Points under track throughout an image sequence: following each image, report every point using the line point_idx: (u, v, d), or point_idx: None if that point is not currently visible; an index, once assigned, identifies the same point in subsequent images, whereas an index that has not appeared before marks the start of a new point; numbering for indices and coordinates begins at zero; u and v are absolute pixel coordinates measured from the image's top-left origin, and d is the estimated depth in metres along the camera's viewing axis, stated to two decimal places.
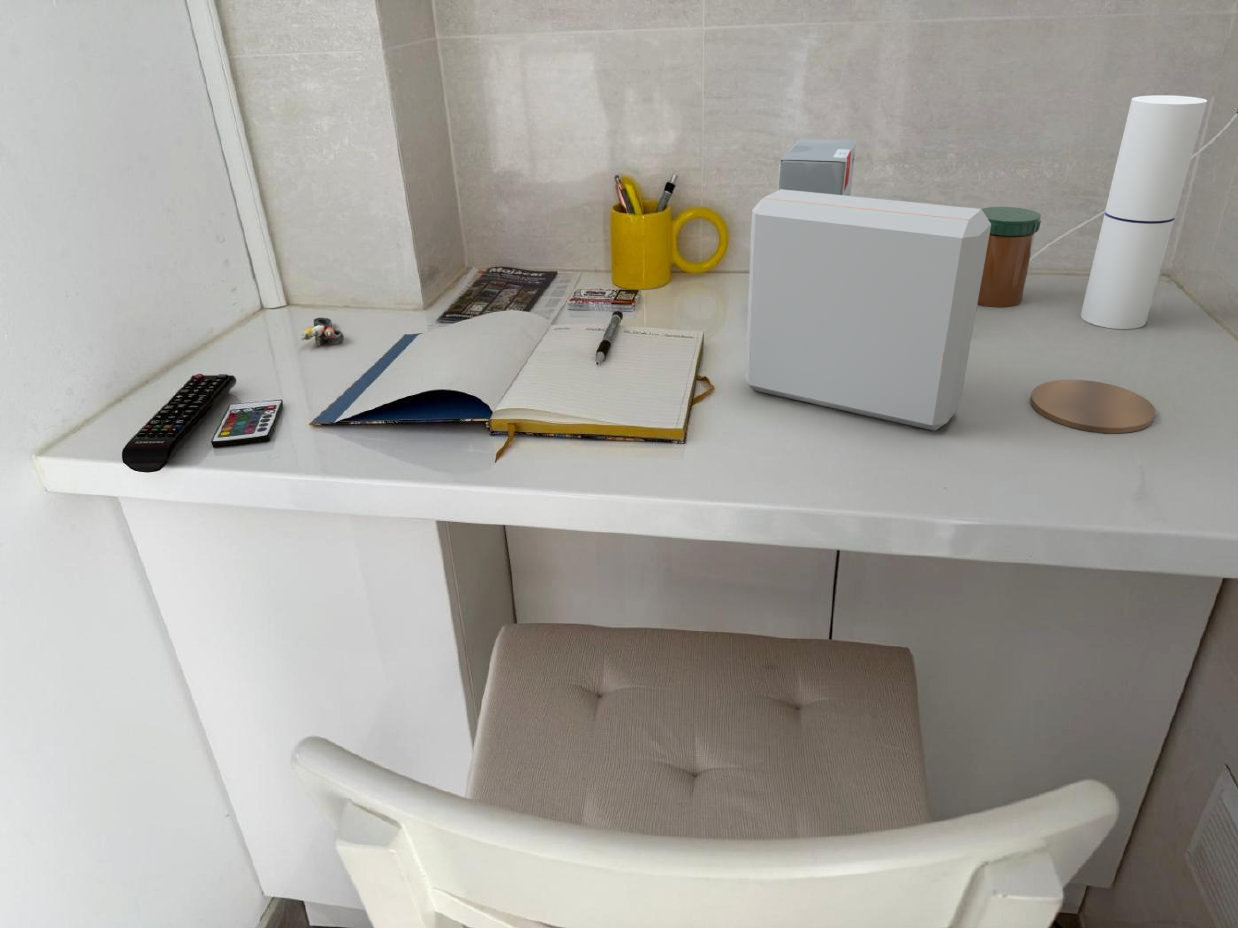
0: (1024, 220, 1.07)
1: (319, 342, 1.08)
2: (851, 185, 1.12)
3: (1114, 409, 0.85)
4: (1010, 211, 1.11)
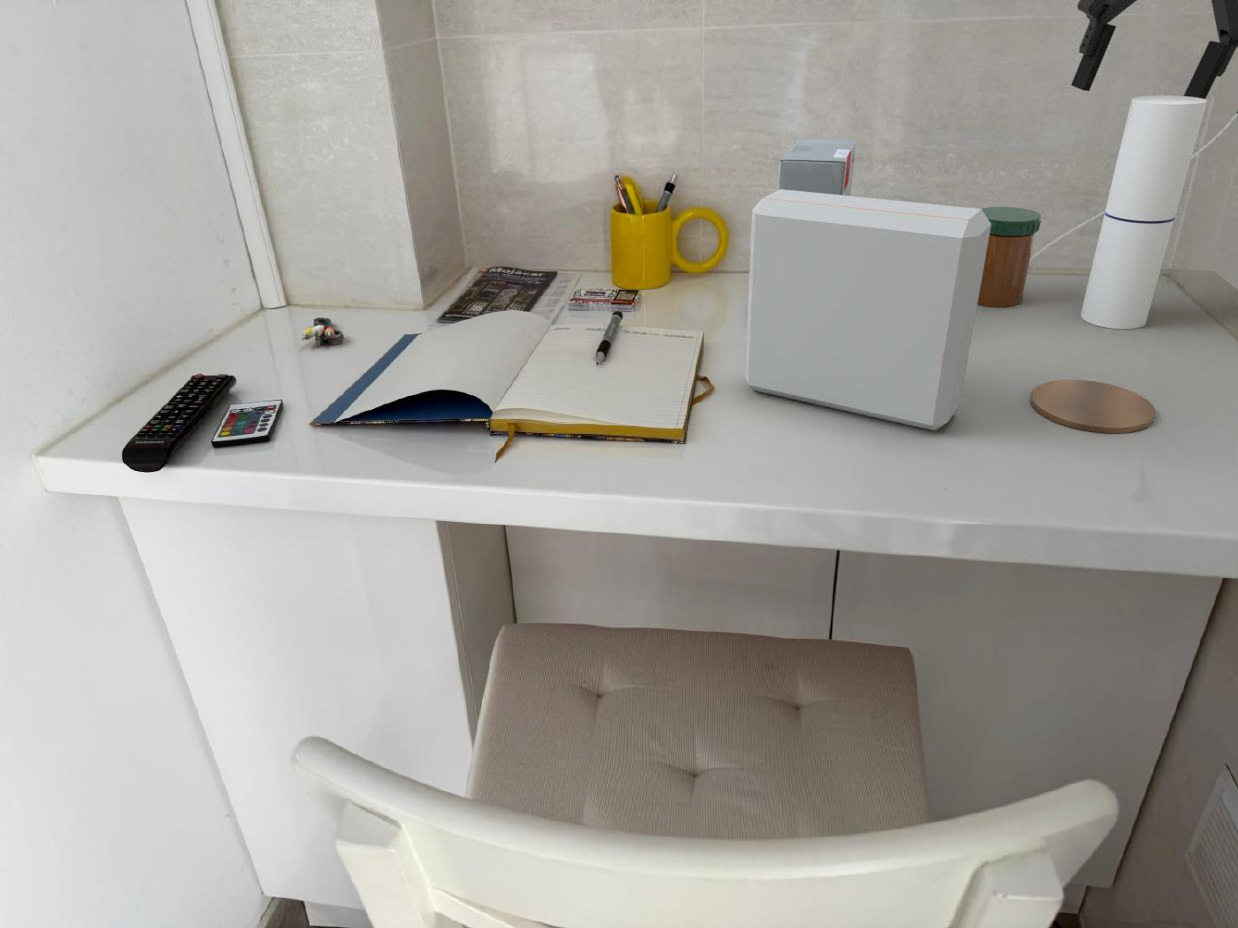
0: (1024, 220, 1.07)
1: (319, 342, 1.08)
2: (851, 185, 1.12)
3: (1114, 409, 0.85)
4: (1010, 211, 1.11)
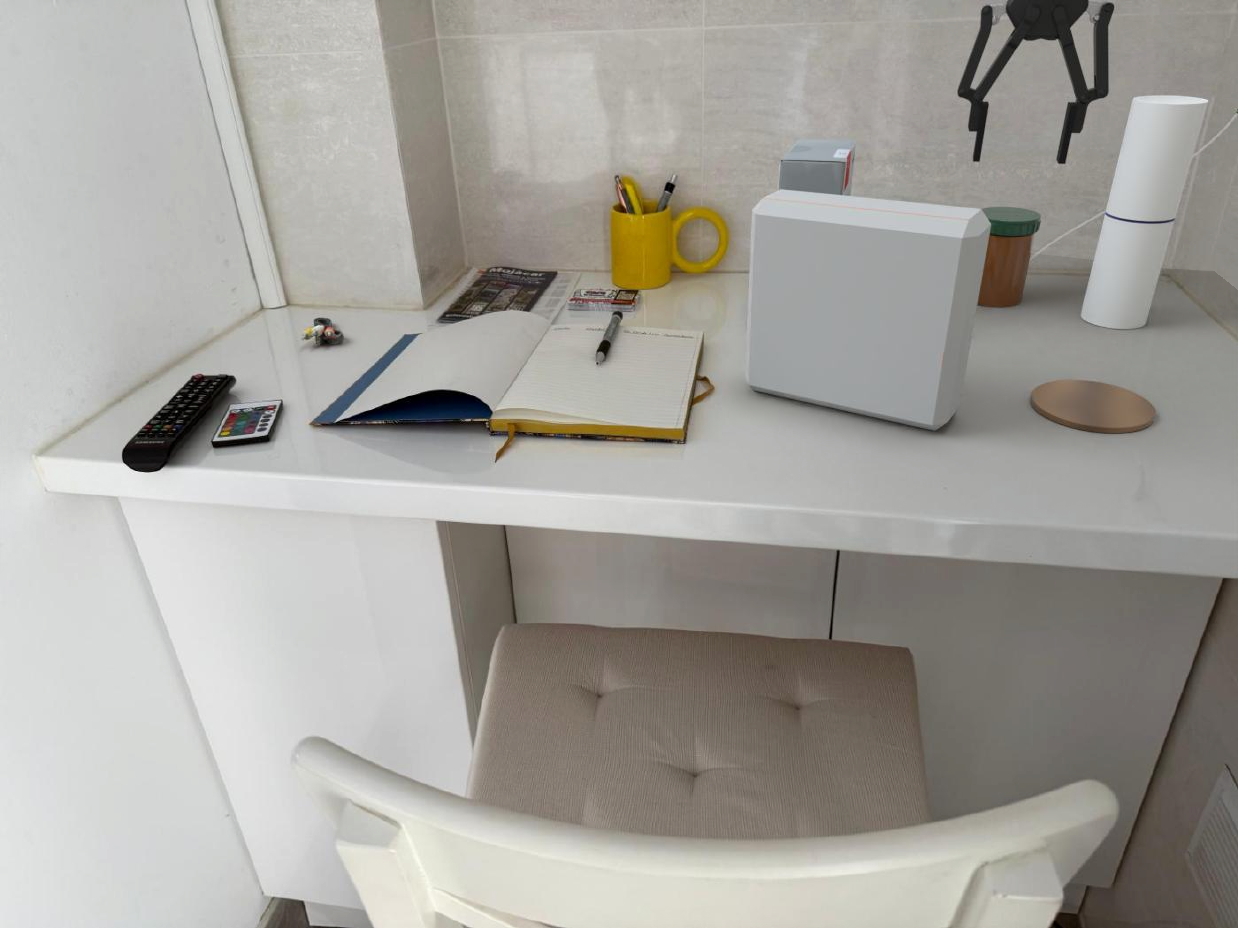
0: (1024, 220, 1.07)
1: (319, 342, 1.08)
2: (851, 185, 1.12)
3: (1114, 409, 0.85)
4: (1010, 211, 1.11)
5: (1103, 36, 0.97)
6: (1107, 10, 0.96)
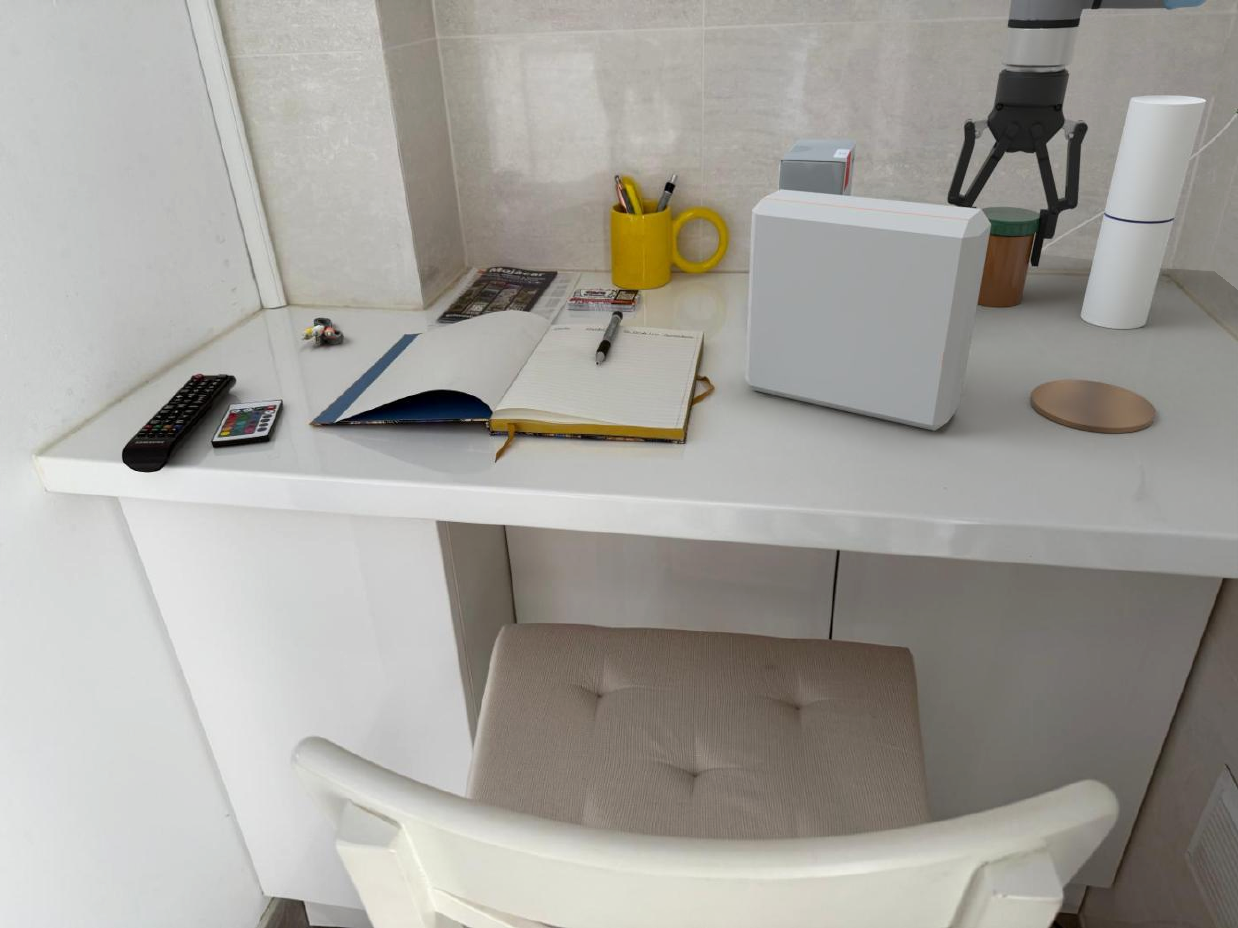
0: (1024, 220, 1.07)
1: (319, 342, 1.08)
2: (851, 185, 1.12)
3: (1114, 409, 0.85)
4: (1010, 211, 1.11)
5: (1076, 152, 1.03)
6: (1081, 130, 1.02)
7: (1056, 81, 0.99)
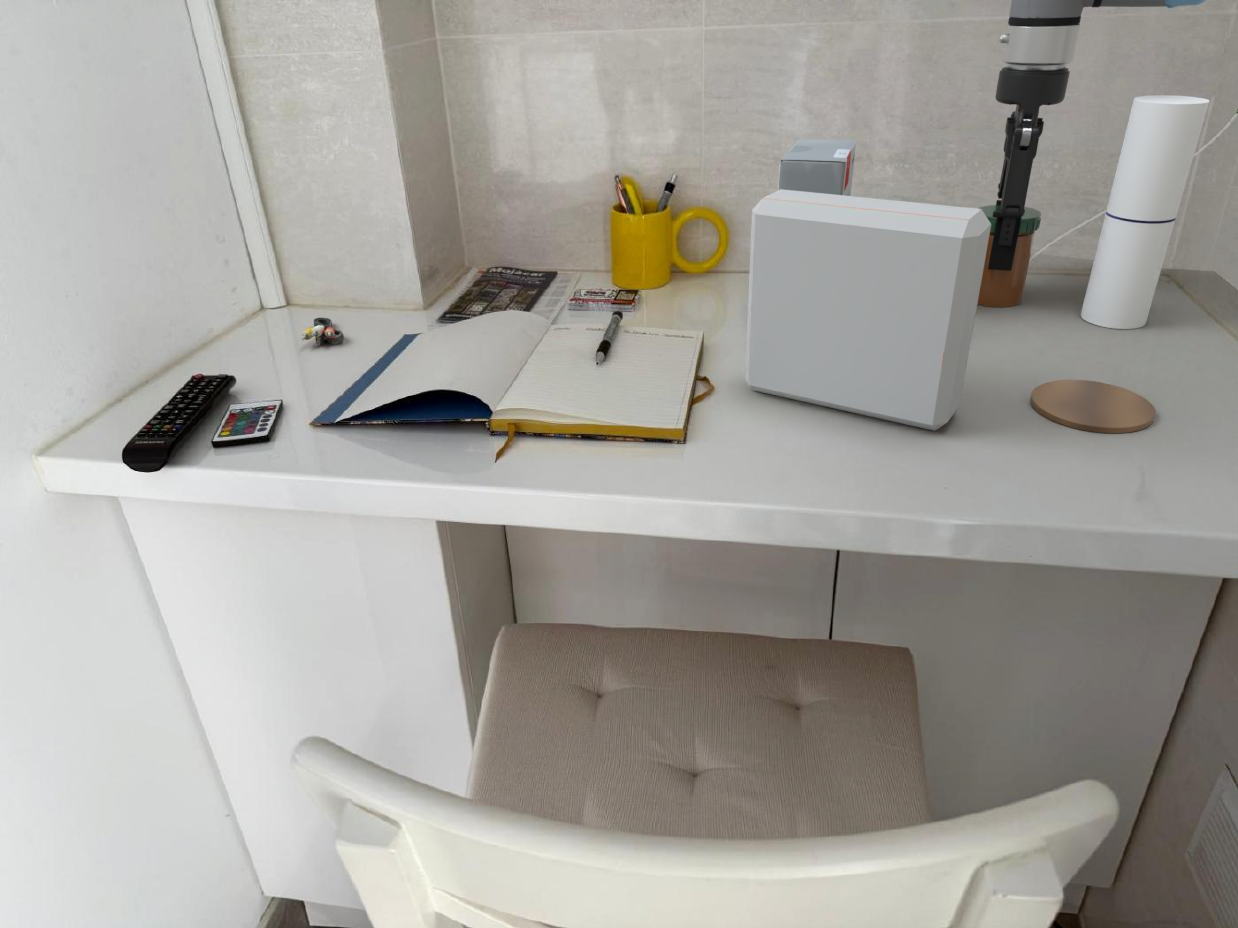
0: (1033, 209, 1.10)
1: (319, 342, 1.08)
2: (851, 185, 1.12)
3: (1114, 409, 0.85)
4: (996, 210, 1.10)
5: None
6: None
7: None
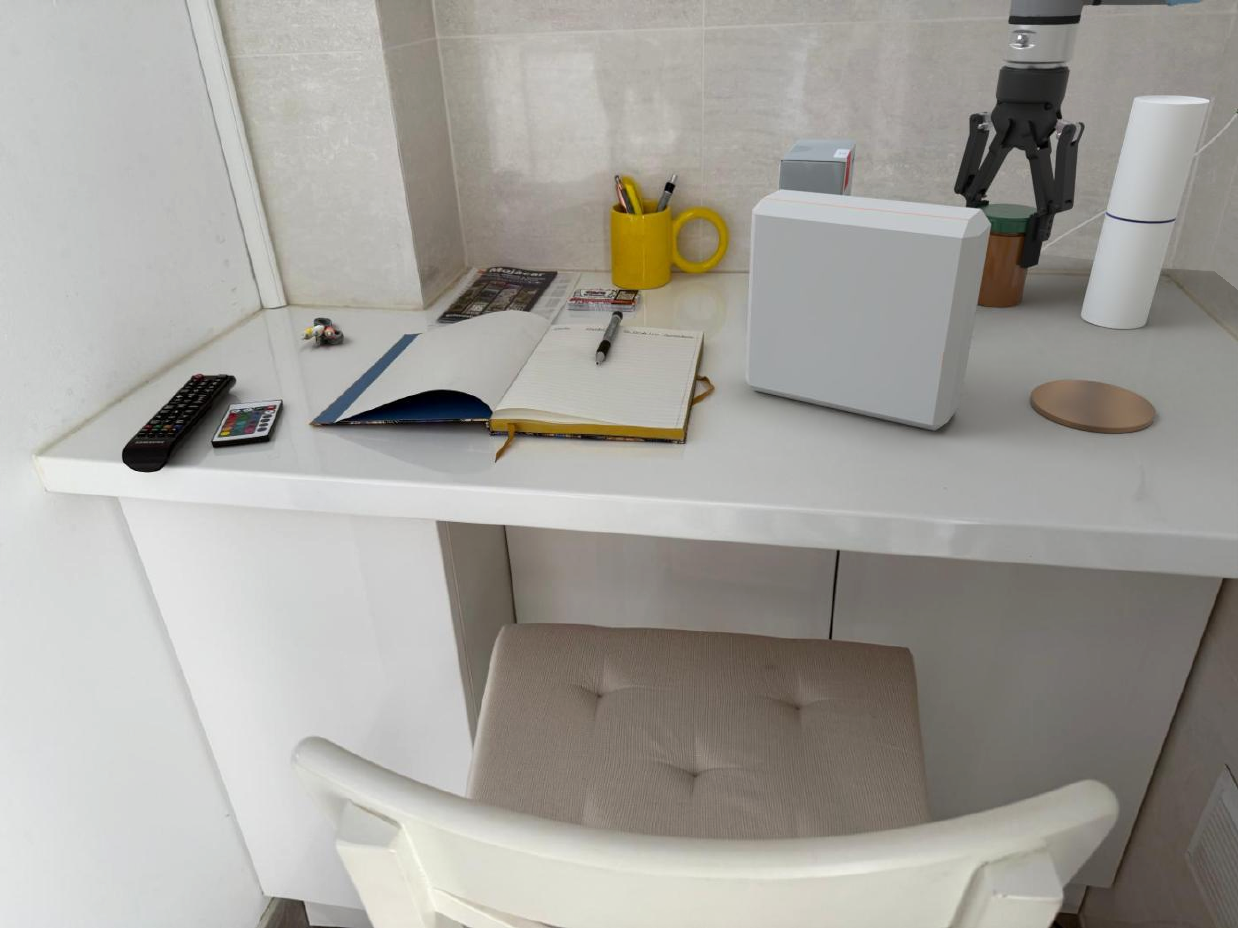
0: (1010, 204, 1.12)
1: (319, 342, 1.08)
2: (851, 185, 1.12)
3: (1114, 409, 0.85)
4: (999, 212, 1.09)
5: None
6: None
7: None
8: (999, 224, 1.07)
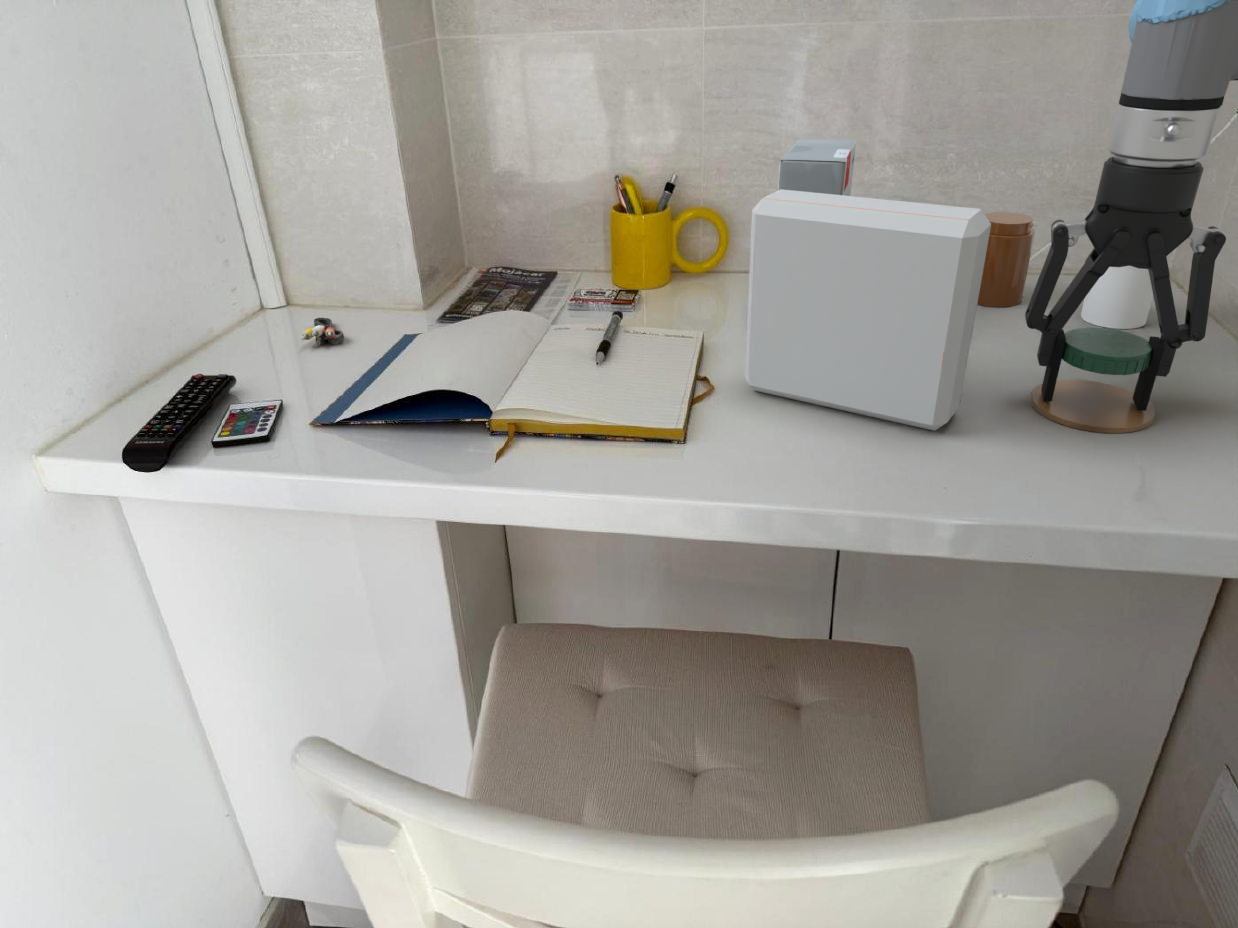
0: (1083, 329, 0.86)
1: (319, 342, 1.08)
2: (851, 185, 1.12)
3: (1114, 409, 0.85)
4: (1105, 346, 0.82)
5: None
6: None
7: None
8: (1126, 366, 0.80)
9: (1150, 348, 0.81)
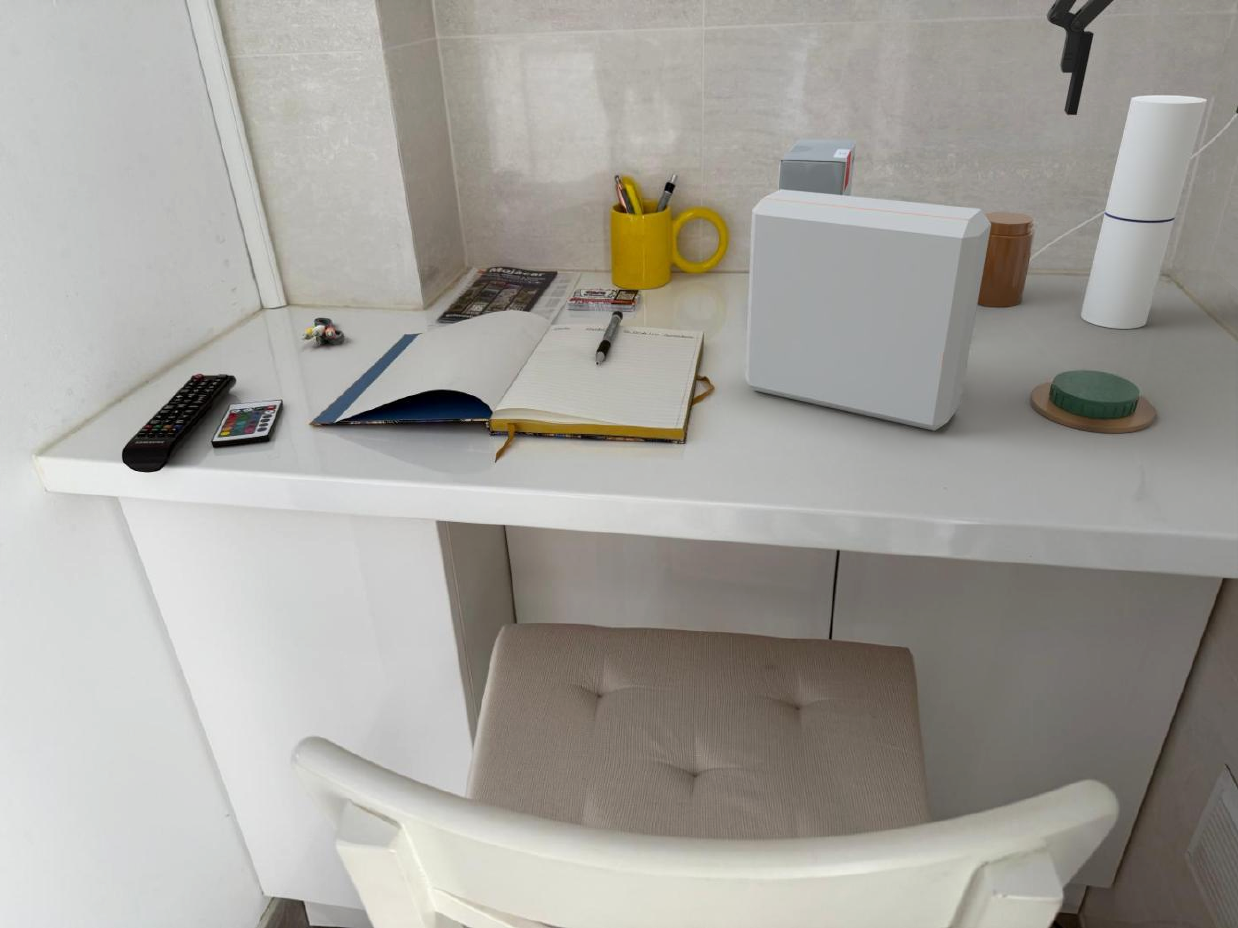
0: (1073, 371, 0.88)
1: (320, 342, 1.08)
2: (851, 185, 1.12)
3: None
4: (1093, 390, 0.84)
5: None
6: None
7: None
8: (1113, 410, 0.83)
9: (1137, 392, 0.84)
